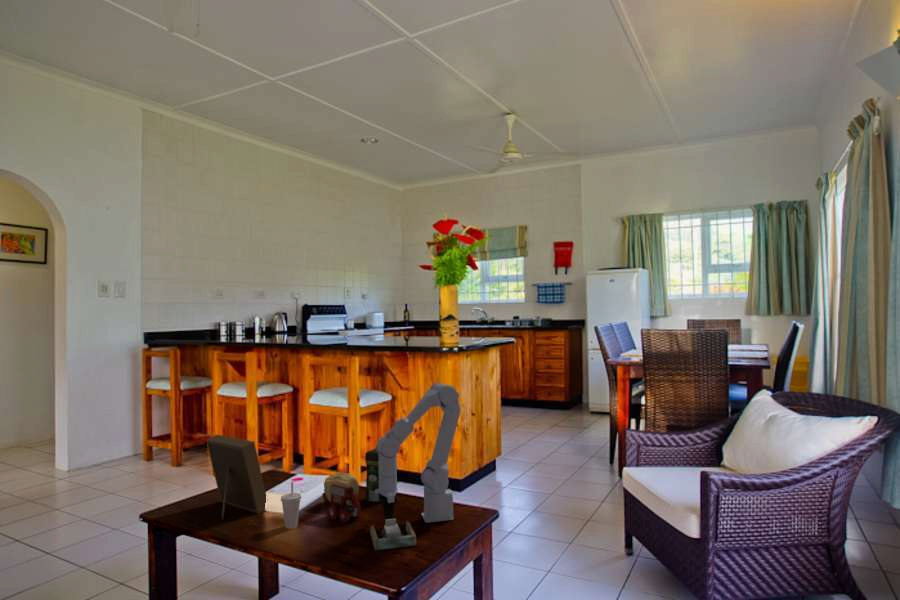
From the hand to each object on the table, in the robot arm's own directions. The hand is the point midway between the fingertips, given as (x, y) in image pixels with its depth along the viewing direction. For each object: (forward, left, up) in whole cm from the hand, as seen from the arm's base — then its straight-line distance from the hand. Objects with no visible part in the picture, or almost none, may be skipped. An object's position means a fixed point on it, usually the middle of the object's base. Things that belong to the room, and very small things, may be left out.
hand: (388, 518), depth 168 cm
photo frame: (+51, -30, -3) cm, 59 cm away
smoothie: (+30, -9, -3) cm, 32 cm away
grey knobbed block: (0, +9, -3) cm, 10 cm away
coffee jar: (0, -27, -3) cm, 27 cm away
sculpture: (+13, -27, -3) cm, 30 cm away
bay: (0, +10, -3) cm, 10 cm away
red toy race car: (+13, -12, -3) cm, 18 cm away
